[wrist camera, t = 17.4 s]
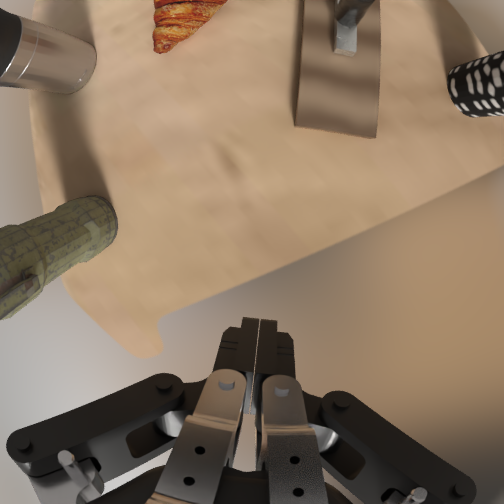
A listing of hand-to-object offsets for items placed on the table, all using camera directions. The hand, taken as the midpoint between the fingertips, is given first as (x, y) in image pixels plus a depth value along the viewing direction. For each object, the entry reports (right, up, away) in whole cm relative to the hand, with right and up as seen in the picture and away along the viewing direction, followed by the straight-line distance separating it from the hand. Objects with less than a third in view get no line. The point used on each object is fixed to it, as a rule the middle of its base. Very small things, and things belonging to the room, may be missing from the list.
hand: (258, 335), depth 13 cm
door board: (+11, +31, +19) cm, 38 cm away
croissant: (-8, +40, +18) cm, 44 cm away
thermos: (-25, +8, +30) cm, 40 cm away
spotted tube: (+32, +28, +18) cm, 47 cm away
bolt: (+11, +33, +15) cm, 38 cm away
